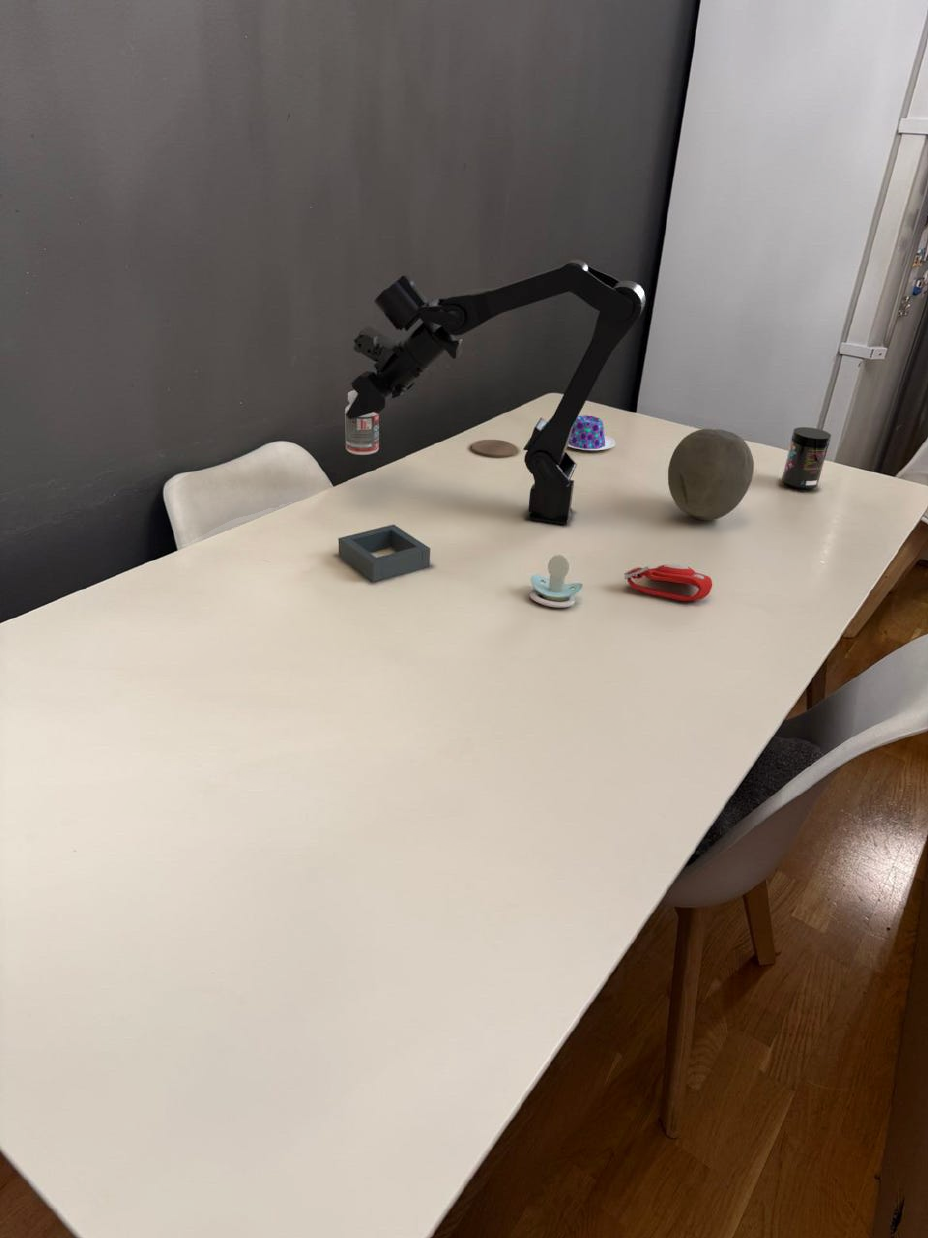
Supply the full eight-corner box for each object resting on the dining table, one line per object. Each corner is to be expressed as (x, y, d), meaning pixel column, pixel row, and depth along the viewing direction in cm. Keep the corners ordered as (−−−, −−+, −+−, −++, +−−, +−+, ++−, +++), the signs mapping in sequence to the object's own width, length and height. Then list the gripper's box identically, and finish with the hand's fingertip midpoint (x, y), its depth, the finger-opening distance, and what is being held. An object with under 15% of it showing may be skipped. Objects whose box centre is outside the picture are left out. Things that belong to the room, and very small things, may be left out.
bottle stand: (393, 541, 137) (393, 524, 136) (429, 566, 131) (430, 548, 129) (338, 556, 132) (338, 537, 130) (373, 582, 125) (373, 563, 124)
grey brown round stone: (752, 534, 148) (773, 448, 140) (668, 529, 147) (684, 443, 140) (731, 501, 160) (749, 420, 152) (653, 497, 159) (668, 416, 152)
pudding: (554, 449, 179) (557, 424, 176) (558, 431, 189) (561, 407, 186) (614, 456, 177) (617, 431, 175) (615, 437, 188) (618, 413, 185)
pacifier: (573, 615, 121) (583, 594, 126) (578, 575, 117) (588, 555, 122) (522, 603, 123) (534, 584, 128) (525, 563, 119) (538, 545, 124)
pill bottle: (382, 454, 151) (382, 397, 146) (349, 456, 150) (348, 398, 145) (374, 443, 156) (374, 387, 151) (342, 445, 154) (341, 389, 149)
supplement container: (798, 477, 173) (811, 425, 168) (824, 489, 168) (839, 436, 162) (772, 481, 170) (785, 428, 165) (798, 494, 165) (812, 440, 160)
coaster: (520, 445, 180) (520, 443, 180) (512, 459, 172) (512, 457, 172) (477, 439, 182) (478, 437, 181) (467, 453, 174) (467, 451, 174)
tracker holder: (670, 560, 134) (726, 570, 127) (666, 588, 135) (722, 600, 128) (617, 561, 127) (674, 572, 119) (614, 591, 127) (670, 604, 120)
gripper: (403, 302, 148) (343, 361, 156) (362, 323, 133) (298, 388, 140) (446, 355, 151) (385, 410, 158) (411, 382, 135) (346, 442, 143)
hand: (354, 411), depth 150 cm, fingers closed on pill bottle, 6 cm apart
